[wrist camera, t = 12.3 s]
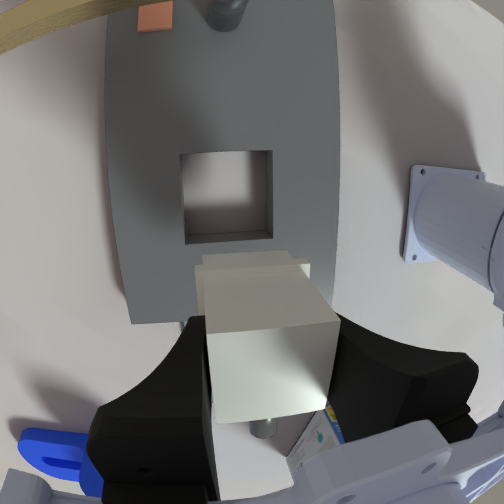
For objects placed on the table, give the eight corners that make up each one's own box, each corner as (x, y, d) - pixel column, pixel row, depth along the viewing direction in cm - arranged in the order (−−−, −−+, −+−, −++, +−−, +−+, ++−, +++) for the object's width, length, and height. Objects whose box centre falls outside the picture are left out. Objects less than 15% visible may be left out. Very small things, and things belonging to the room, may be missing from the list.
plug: (292, 243, 15) (350, 310, 9) (286, 357, 18) (322, 444, 12) (195, 249, 15) (194, 325, 9) (205, 365, 17) (213, 460, 11)
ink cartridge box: (324, 457, 32) (363, 551, 19) (283, 459, 31) (316, 562, 18) (362, 403, 30) (424, 507, 16) (319, 403, 28) (375, 524, 15)
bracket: (150, 434, 27) (145, 508, 18) (168, 473, 30) (169, 536, 21) (11, 422, 24) (-12, 478, 16) (41, 463, 27) (27, 514, 19)
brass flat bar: (242, 30, 15) (264, -18, 9) (15, 83, 13) (-45, 69, 7) (239, 3, 14) (259, -51, 8) (15, 56, 13) (-42, 35, 7)
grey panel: (321, 2, 17) (334, -11, 14) (322, 293, 24) (333, 308, 22) (117, 3, 15) (109, -10, 12) (136, 310, 22) (130, 327, 20)
